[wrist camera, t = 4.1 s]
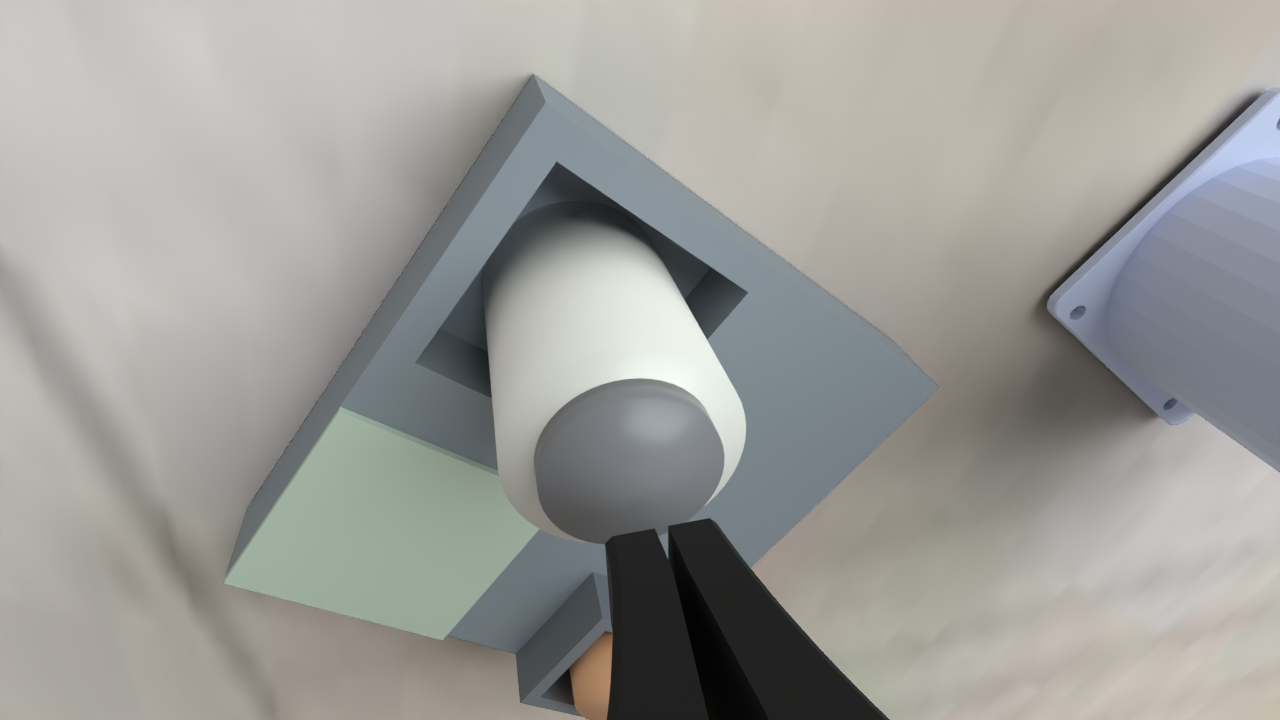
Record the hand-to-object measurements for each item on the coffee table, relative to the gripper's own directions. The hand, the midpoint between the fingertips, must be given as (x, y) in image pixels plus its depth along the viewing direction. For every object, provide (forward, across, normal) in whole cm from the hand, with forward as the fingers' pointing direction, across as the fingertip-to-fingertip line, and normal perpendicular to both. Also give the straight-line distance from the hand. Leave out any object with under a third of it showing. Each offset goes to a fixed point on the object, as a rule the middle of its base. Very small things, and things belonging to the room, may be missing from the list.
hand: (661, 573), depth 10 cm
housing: (+9, 0, +5) cm, 10 cm away
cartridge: (+9, 0, 0) cm, 9 cm away
